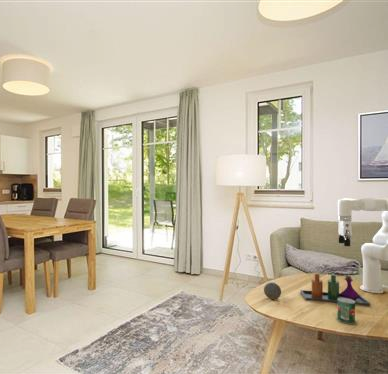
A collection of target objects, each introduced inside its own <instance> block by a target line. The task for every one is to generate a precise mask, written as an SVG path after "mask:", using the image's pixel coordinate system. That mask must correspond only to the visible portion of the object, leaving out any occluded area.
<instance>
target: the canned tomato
mask: <svg viewBox="0 0 388 374" xmlns="http://www.w3.org/2000/svg"><path fill="white" fill-rule="evenodd" d="M336 308H337V310H336V319H337V321H338V322H340V323H342V324H347V325H354V324H355V323H356V305H355V301H354V300H352V299H349V298H344V297H340V298H337V303H336Z"/></svg>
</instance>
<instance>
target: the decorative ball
mask: <svg viewBox="0 0 388 374" xmlns="http://www.w3.org/2000/svg"><path fill="white" fill-rule="evenodd" d="M263 292H264V295H265V296H266V297H267V298H268V299H270V300H277V299H279V298H280V297H281V295H282V289H281V287H280V286H279V285H278V283H275V282H267V283H266V284H264V287H263Z"/></svg>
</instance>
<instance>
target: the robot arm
mask: <svg viewBox="0 0 388 374" xmlns="http://www.w3.org/2000/svg"><path fill="white" fill-rule="evenodd" d="M352 211H355V212H357V211H358V212H359V211H366V212H381V221H382V226H381V227H380V228H379V230H378V231H377V232H376V233H375V234H374V236H373V237H372V242H365V243H364V244H362V245H361V248H360V251H361V257H362V285H360V286H359V289H360V290H361V291H363V292H367V293H370V294H371V293H372V294H383V293H384V292H385V291H384V290H388V285H385V284H382V283H381V281H382V280H381V279H382V278H381V277H382V271H381V270H382V265H381V262H380V261H382V262H383V261H385V262H388V198H382V197H381V198H379V197H378V198H375V197H374V198H371V197H368V198H367V197H366V198H364V197H363V198H342V199H338V200H337V221H338V226H337V231H338V233H337V234H338V244H344V245H343V246H344V247H351V237H353V228H352V219H353V217H352V215H353V213H352Z"/></svg>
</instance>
